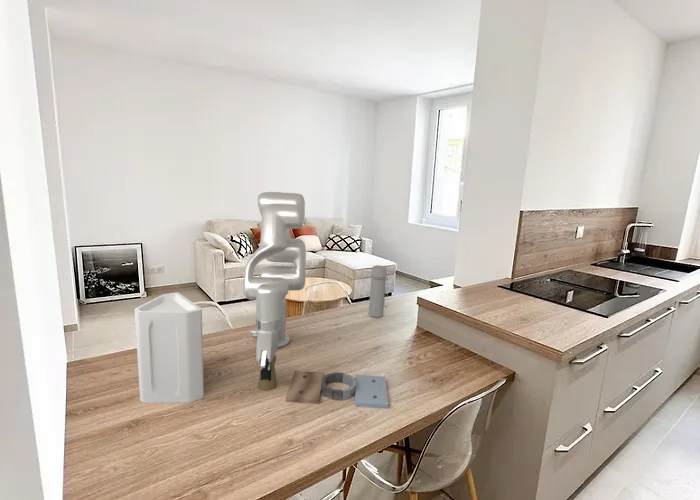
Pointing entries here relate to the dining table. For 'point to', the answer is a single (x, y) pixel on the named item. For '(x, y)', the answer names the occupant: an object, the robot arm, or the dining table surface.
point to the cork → (267, 384)
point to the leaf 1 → (313, 387)
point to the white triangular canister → (169, 350)
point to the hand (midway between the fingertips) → (267, 375)
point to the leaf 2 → (366, 390)
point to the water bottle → (377, 291)
